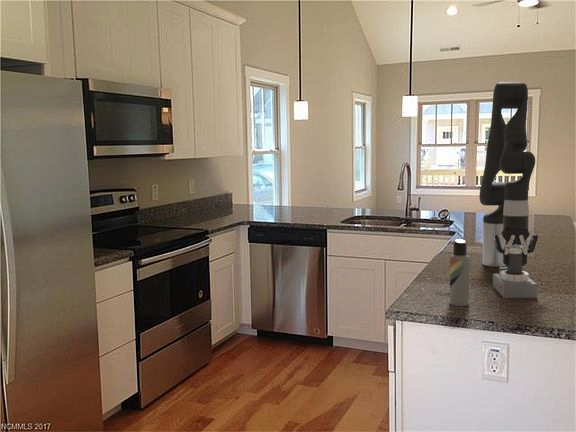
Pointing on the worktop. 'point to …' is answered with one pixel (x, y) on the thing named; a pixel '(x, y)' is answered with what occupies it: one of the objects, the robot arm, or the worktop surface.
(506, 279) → the camera body
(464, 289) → the lotion bottle
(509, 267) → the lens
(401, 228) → the worktop surface
